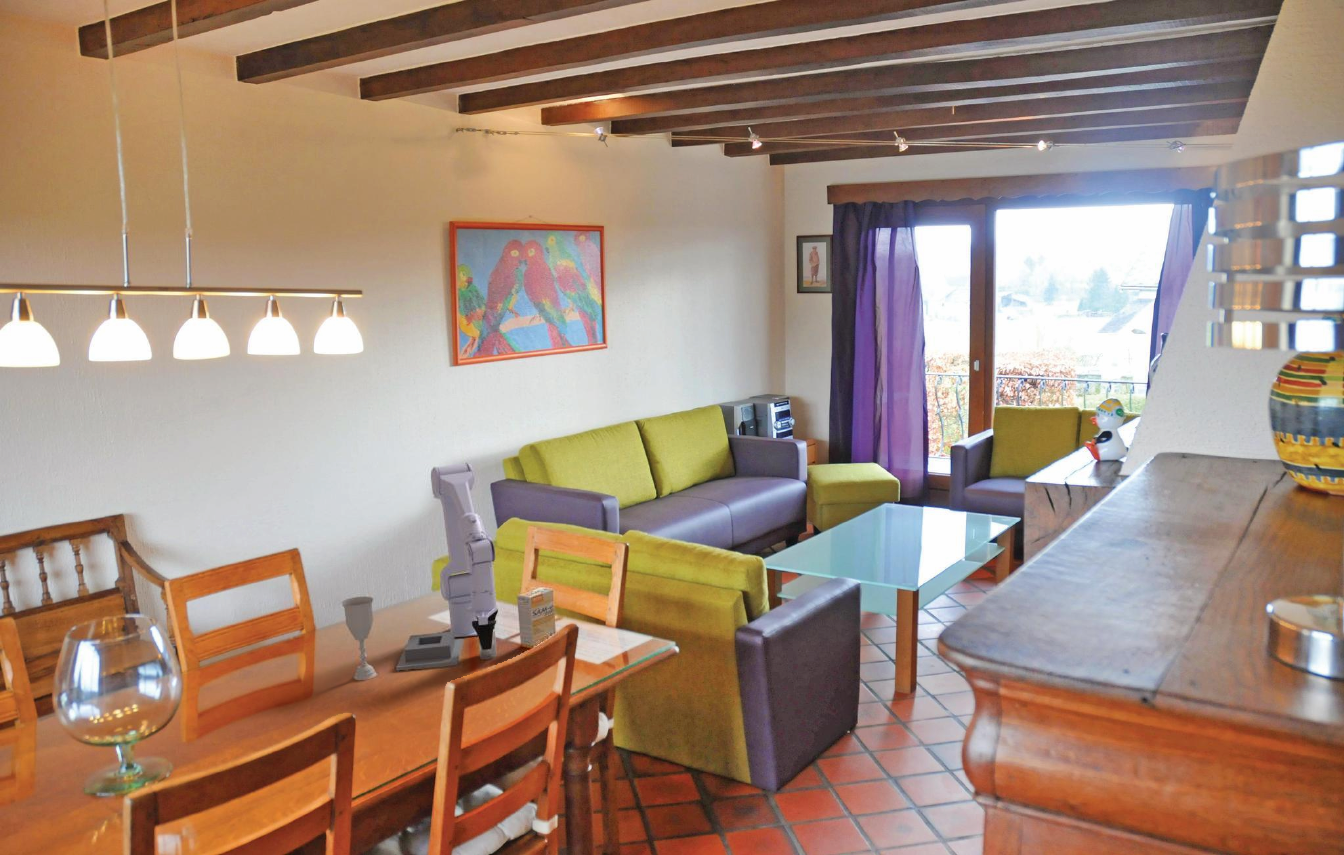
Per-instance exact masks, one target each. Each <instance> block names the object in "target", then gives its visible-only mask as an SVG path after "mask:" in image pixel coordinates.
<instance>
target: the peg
mask: <svg viewBox="0 0 1344 855" xmlns="http://www.w3.org/2000/svg"><path fill="white" fill-rule="evenodd" d="M478 647H479V657H480V659H481V660H491V659H494V658H496V657H498V650H497V648H498V647H497V638H496V628H495V627H494V630H493V637H492V647H491V649H488V650H482V647H481V644H480V641H479V640H478Z"/></svg>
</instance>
